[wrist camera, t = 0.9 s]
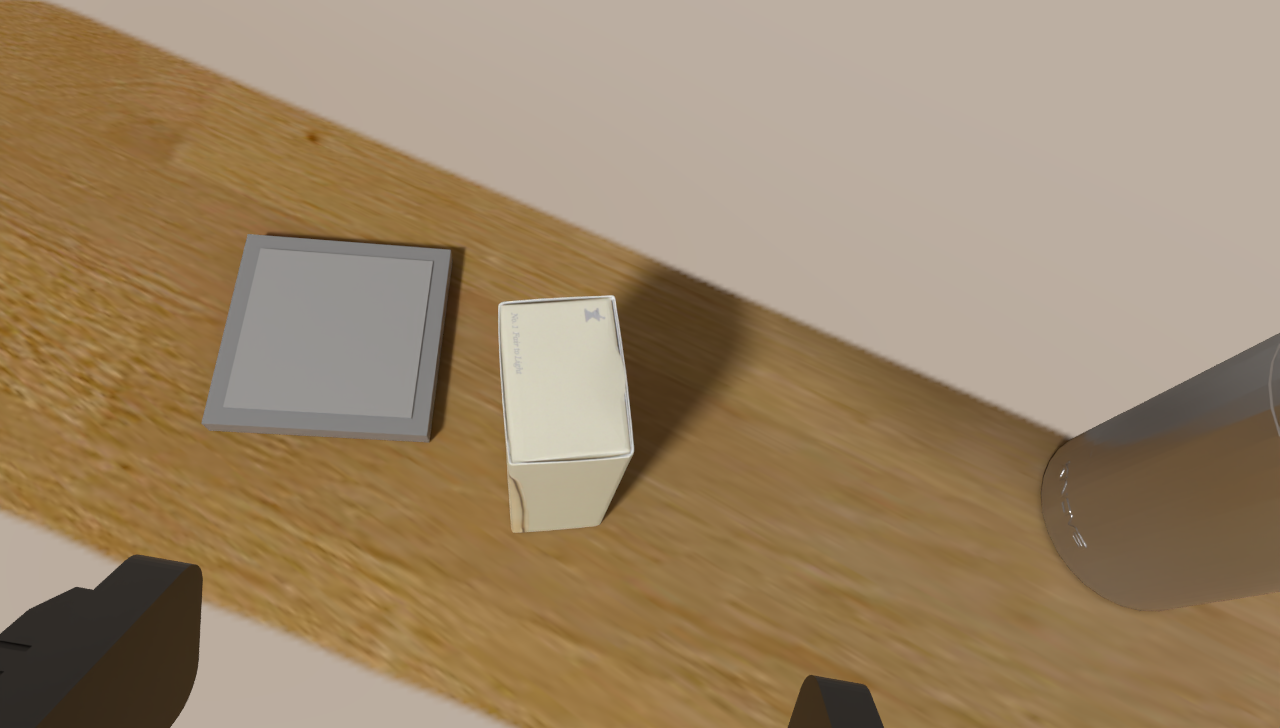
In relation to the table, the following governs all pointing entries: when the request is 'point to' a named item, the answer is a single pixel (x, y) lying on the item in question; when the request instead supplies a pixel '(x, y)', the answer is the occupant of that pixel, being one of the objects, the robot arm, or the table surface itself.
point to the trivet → (332, 340)
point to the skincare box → (563, 410)
